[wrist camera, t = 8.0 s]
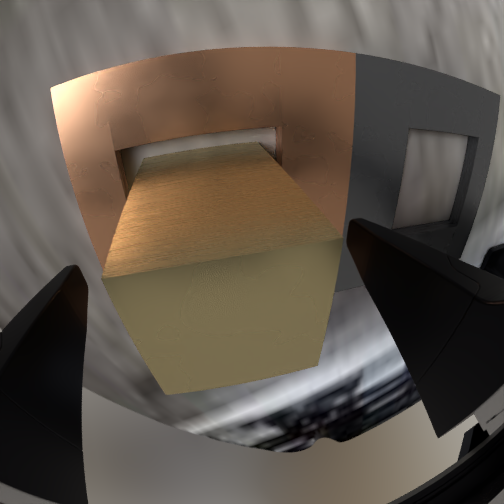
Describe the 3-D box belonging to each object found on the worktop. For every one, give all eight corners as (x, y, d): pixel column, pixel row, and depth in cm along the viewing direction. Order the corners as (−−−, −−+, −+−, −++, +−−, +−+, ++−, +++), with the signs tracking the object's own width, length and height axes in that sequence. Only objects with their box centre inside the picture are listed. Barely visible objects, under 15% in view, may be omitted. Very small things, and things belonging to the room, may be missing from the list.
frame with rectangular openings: (490, 92, 11) (500, 95, 10) (453, 251, 18) (460, 258, 17) (59, 86, 7) (50, 88, 7) (132, 318, 15) (131, 329, 14)
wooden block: (256, 141, 11) (343, 237, 5) (260, 235, 13) (317, 365, 8) (143, 158, 10) (101, 279, 5) (165, 251, 13) (165, 395, 7)
